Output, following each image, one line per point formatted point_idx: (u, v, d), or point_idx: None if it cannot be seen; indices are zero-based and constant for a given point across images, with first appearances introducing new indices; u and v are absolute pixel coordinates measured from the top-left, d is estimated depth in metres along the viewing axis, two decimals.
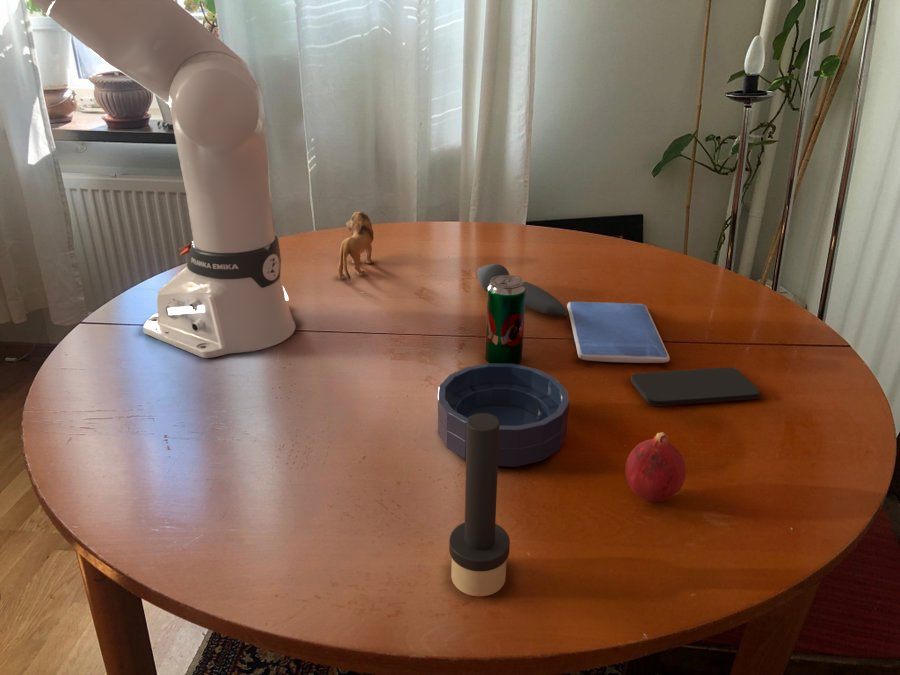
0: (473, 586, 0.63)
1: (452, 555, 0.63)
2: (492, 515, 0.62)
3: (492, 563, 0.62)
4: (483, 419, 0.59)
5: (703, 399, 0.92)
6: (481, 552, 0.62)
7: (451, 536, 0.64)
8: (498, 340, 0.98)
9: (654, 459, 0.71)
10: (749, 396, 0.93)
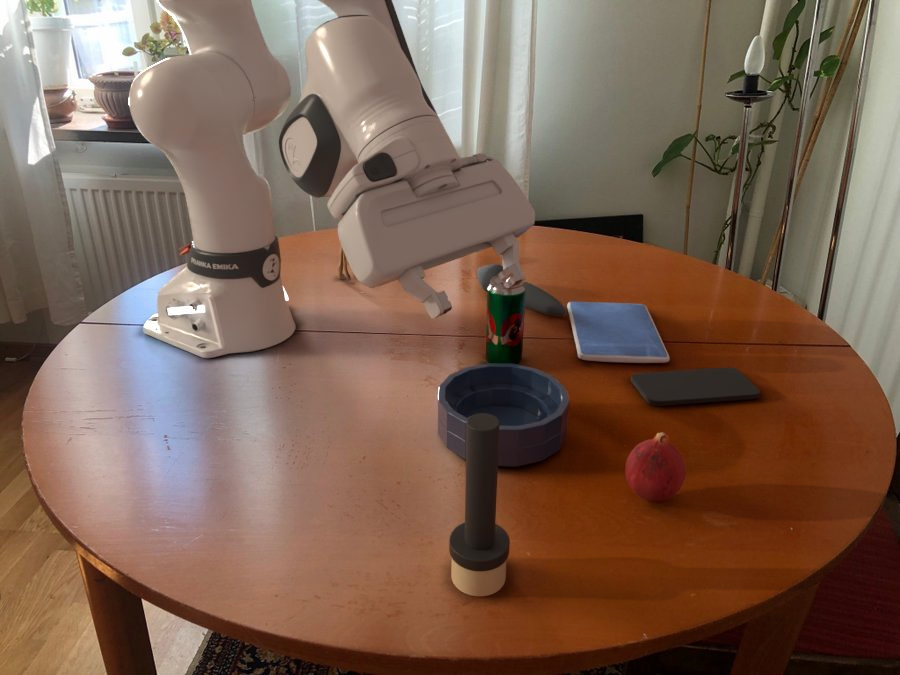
0: (473, 586, 0.63)
1: (452, 555, 0.63)
2: (492, 515, 0.62)
3: (492, 563, 0.62)
4: (483, 419, 0.59)
5: (703, 399, 0.92)
6: (481, 552, 0.62)
7: (451, 536, 0.64)
8: (498, 340, 0.98)
9: (654, 459, 0.71)
10: (749, 396, 0.93)
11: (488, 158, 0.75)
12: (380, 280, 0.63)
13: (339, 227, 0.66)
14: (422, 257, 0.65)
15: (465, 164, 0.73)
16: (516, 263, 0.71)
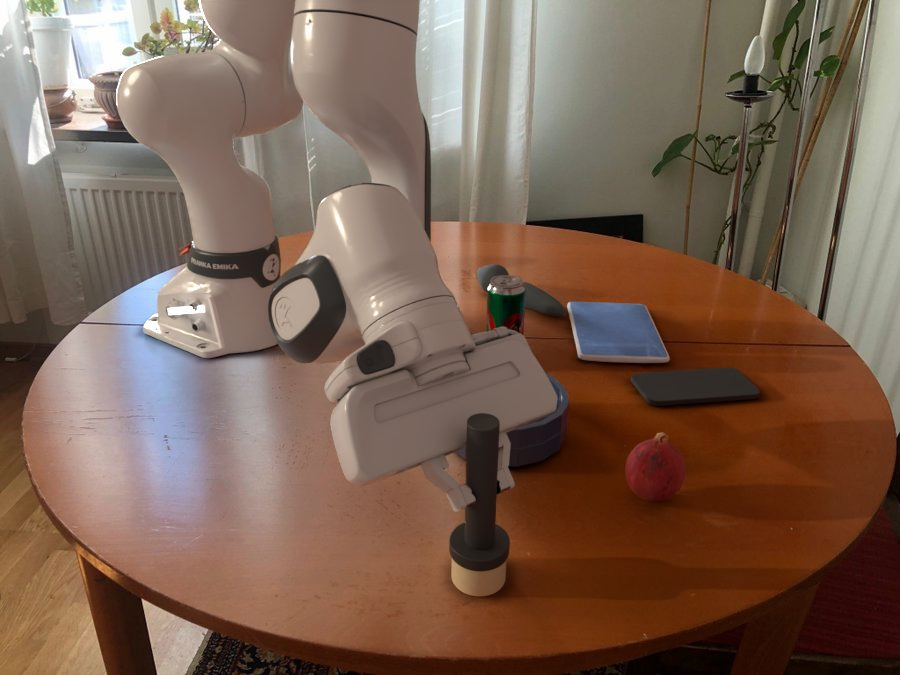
0: (473, 586, 0.63)
1: (452, 555, 0.63)
2: (492, 515, 0.62)
3: (492, 563, 0.62)
4: (483, 419, 0.59)
5: (703, 399, 0.92)
6: (481, 552, 0.62)
7: (451, 536, 0.64)
8: None
9: (654, 459, 0.71)
10: (749, 396, 0.93)
11: (511, 332, 0.69)
12: (367, 483, 0.57)
13: (332, 416, 0.60)
14: (416, 457, 0.58)
15: (482, 341, 0.67)
16: (505, 468, 0.62)
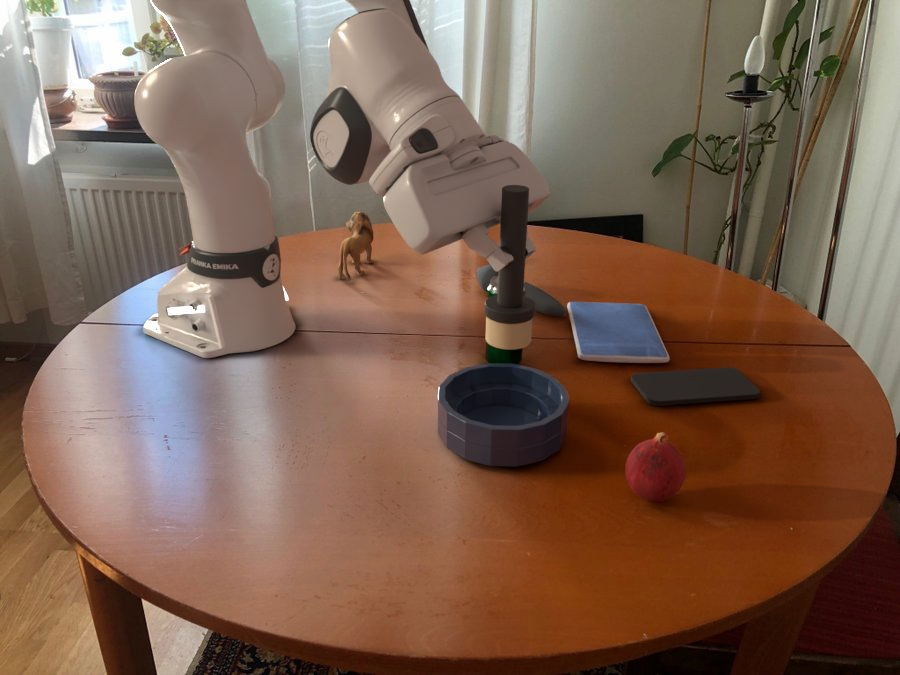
0: (512, 340, 0.76)
1: (492, 316, 0.75)
2: (523, 275, 0.74)
3: (527, 315, 0.75)
4: (515, 187, 0.71)
5: (703, 399, 0.92)
6: (516, 308, 0.75)
7: (486, 304, 0.76)
8: None
9: (654, 459, 0.71)
10: (749, 396, 0.93)
11: (499, 139, 0.81)
12: (434, 244, 0.68)
13: (386, 200, 0.69)
14: (468, 222, 0.69)
15: (482, 144, 0.79)
16: None
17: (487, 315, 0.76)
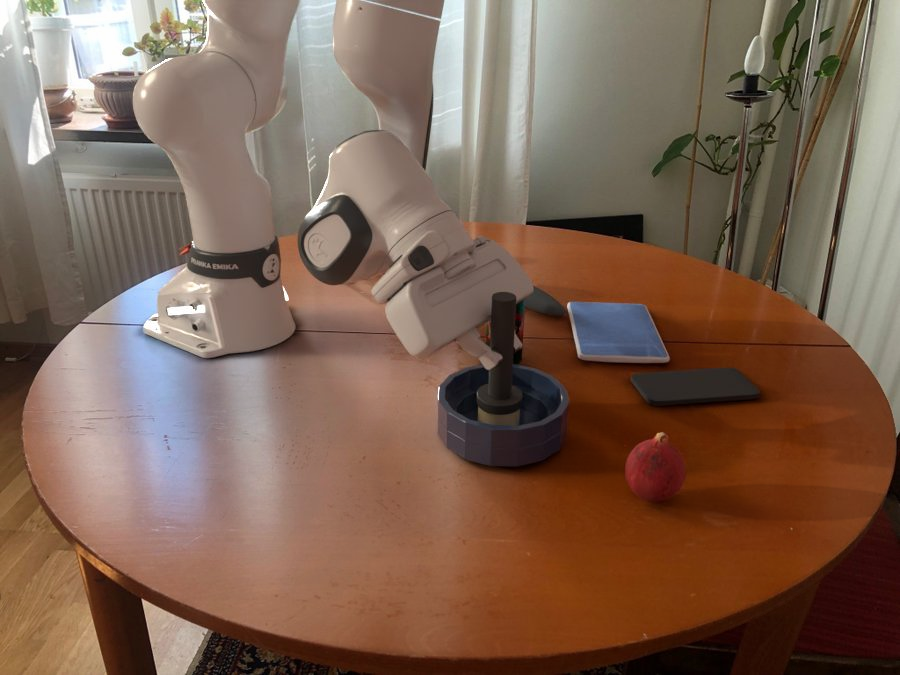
0: None
1: (484, 408, 0.83)
2: None
3: (516, 406, 0.82)
4: (503, 295, 0.79)
5: (703, 399, 0.92)
6: (506, 400, 0.83)
7: (478, 395, 0.84)
8: None
9: (654, 459, 0.71)
10: (749, 396, 0.93)
11: (487, 239, 0.89)
12: (432, 352, 0.75)
13: (388, 310, 0.77)
14: (462, 329, 0.77)
15: None
16: None
17: (479, 406, 0.83)
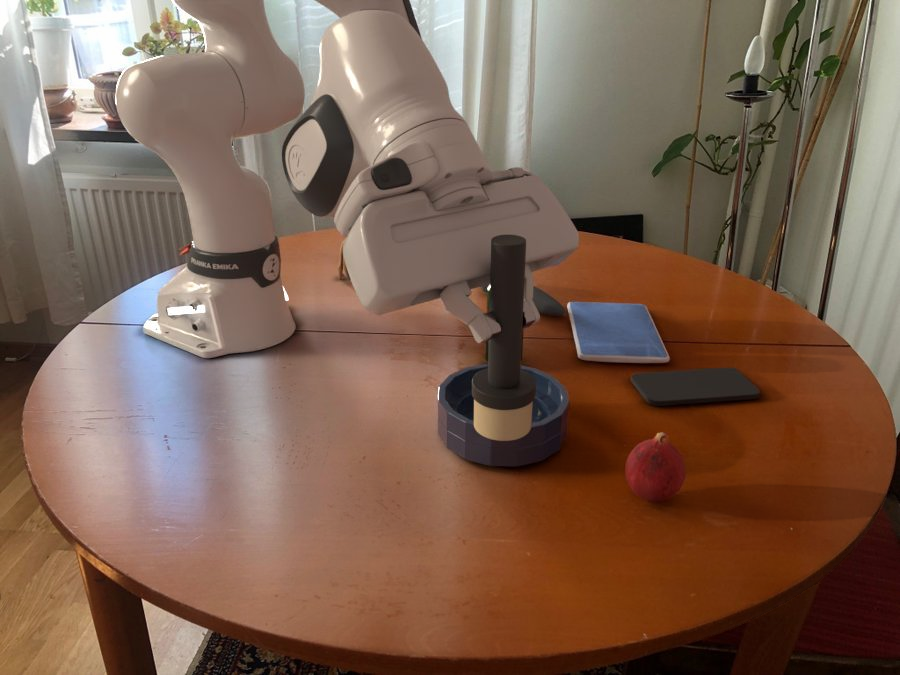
0: (499, 429, 0.59)
1: (476, 397, 0.59)
2: (518, 349, 0.58)
3: (519, 400, 0.58)
4: (508, 238, 0.55)
5: (703, 399, 0.92)
6: (507, 390, 0.59)
7: (473, 379, 0.60)
8: None
9: (654, 459, 0.71)
10: (749, 396, 0.93)
11: (526, 173, 0.65)
12: (386, 305, 0.53)
13: (344, 244, 0.56)
14: (438, 279, 0.55)
15: (497, 178, 0.63)
16: (529, 300, 0.59)
17: (472, 394, 0.60)
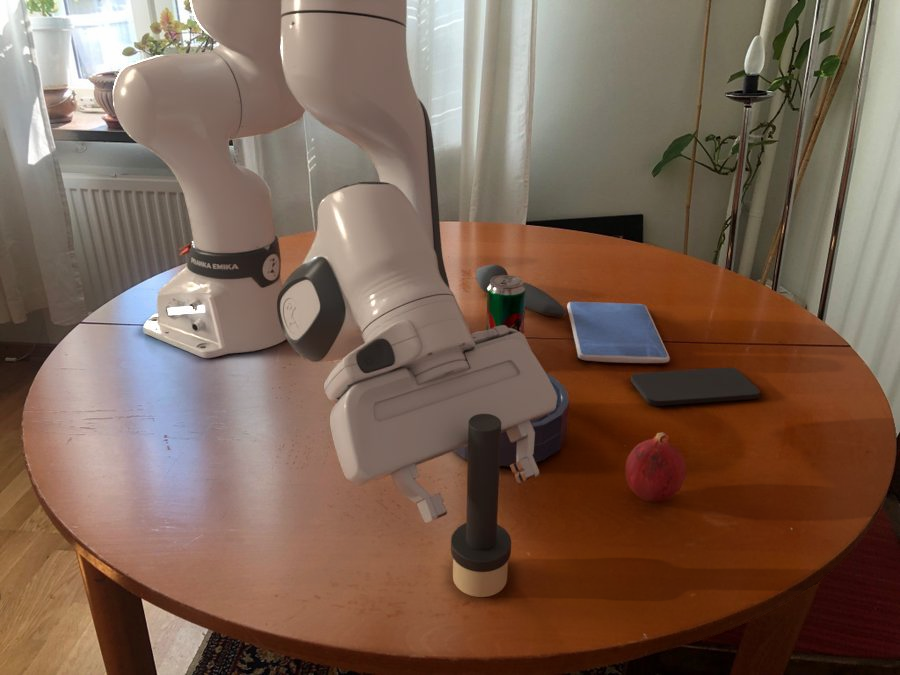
0: (475, 587, 0.63)
1: (454, 556, 0.63)
2: (494, 516, 0.62)
3: (494, 564, 0.62)
4: (485, 419, 0.59)
5: (703, 399, 0.92)
6: (483, 553, 0.62)
7: (453, 537, 0.64)
8: None
9: (654, 459, 0.71)
10: (749, 396, 0.93)
11: (510, 330, 0.69)
12: (366, 481, 0.57)
13: (331, 414, 0.60)
14: (416, 456, 0.58)
15: (481, 340, 0.67)
16: (530, 456, 0.63)
17: (451, 551, 0.64)
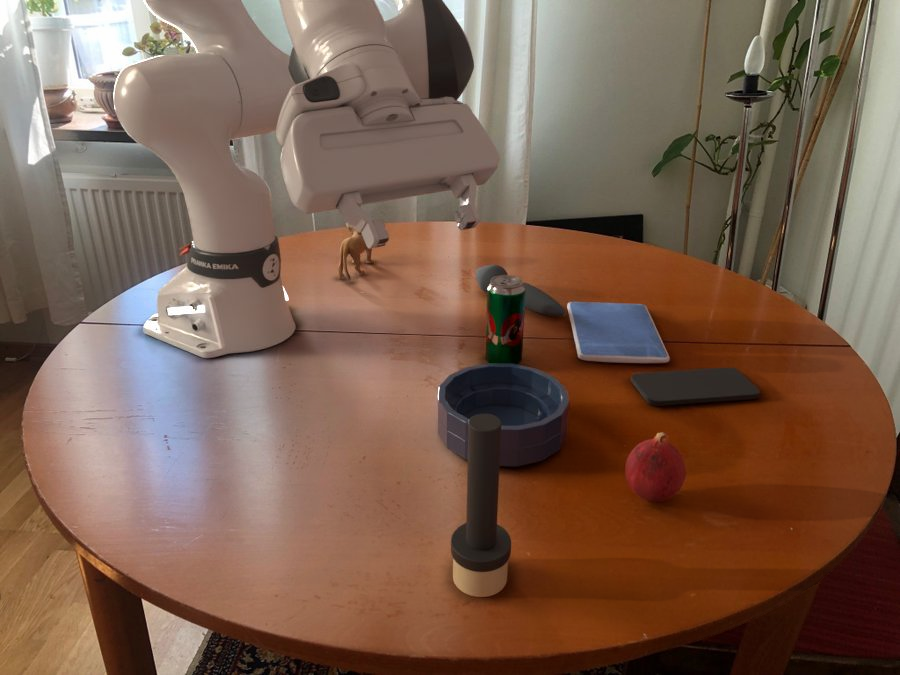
0: (475, 587, 0.63)
1: (454, 556, 0.63)
2: (494, 516, 0.62)
3: (494, 564, 0.62)
4: (485, 419, 0.59)
5: (703, 399, 0.92)
6: (483, 553, 0.62)
7: (453, 537, 0.64)
8: (498, 340, 0.98)
9: (654, 459, 0.71)
10: (749, 396, 0.93)
11: (457, 102, 0.72)
12: (312, 202, 0.61)
13: None
14: (359, 183, 0.62)
15: (428, 105, 0.70)
16: (471, 203, 0.67)
17: (451, 551, 0.64)
